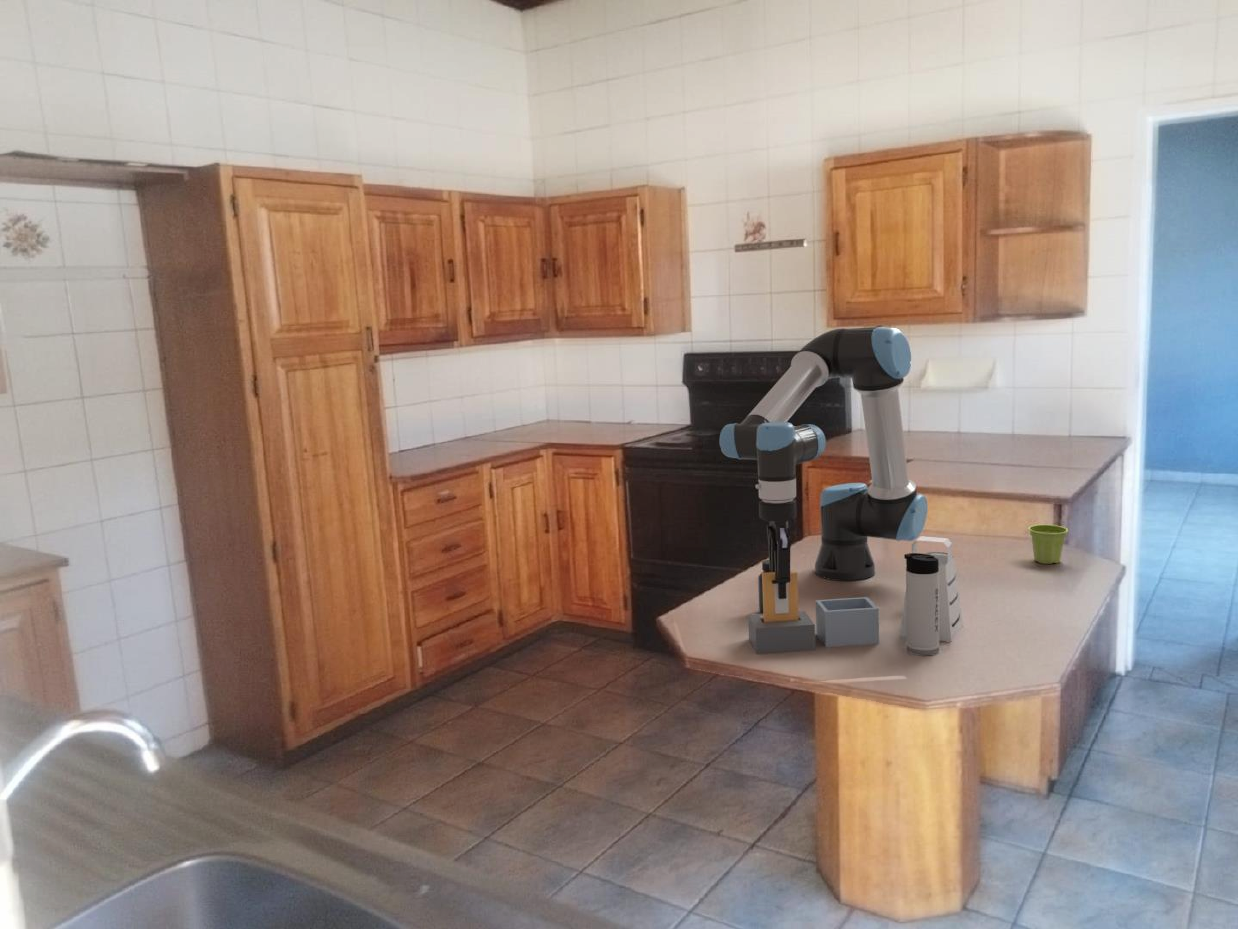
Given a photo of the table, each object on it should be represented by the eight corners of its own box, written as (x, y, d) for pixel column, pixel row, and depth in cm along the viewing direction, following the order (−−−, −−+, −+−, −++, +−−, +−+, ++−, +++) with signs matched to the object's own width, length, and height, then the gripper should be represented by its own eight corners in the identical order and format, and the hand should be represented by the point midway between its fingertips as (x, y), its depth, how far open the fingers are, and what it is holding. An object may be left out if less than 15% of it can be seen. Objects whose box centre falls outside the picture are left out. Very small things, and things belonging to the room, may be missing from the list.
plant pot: (1069, 558, 255) (1070, 526, 254) (1064, 567, 247) (1064, 534, 246) (1031, 555, 260) (1032, 523, 259) (1024, 564, 252) (1025, 531, 251)
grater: (951, 642, 200) (951, 547, 197) (900, 635, 205) (899, 543, 202) (963, 626, 209) (963, 535, 205) (913, 620, 214) (913, 531, 211)
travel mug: (900, 646, 199) (899, 551, 196) (931, 644, 199) (931, 549, 196) (911, 657, 193) (911, 559, 189) (944, 654, 193) (944, 556, 190)
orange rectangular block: (765, 645, 201) (763, 574, 199) (764, 642, 203) (762, 572, 200) (799, 642, 201) (797, 572, 199) (797, 640, 203) (795, 570, 200)
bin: (816, 636, 207) (815, 600, 206) (867, 633, 208) (867, 597, 206) (825, 649, 199) (825, 612, 198) (879, 646, 200) (878, 608, 198)
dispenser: (756, 656, 197) (755, 626, 196) (749, 641, 206) (748, 612, 205) (815, 653, 198) (814, 622, 197) (805, 638, 207) (804, 608, 206)
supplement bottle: (771, 605, 230) (769, 556, 228) (795, 611, 225) (793, 560, 223) (753, 613, 225) (751, 562, 223) (777, 619, 220) (775, 567, 218)
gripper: (752, 493, 204) (756, 601, 208) (765, 507, 190) (769, 623, 194) (788, 491, 204) (791, 599, 208) (803, 505, 190) (806, 621, 194)
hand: (780, 610), depth 201 cm, fingers closed on orange rectangular block, 1 cm apart
